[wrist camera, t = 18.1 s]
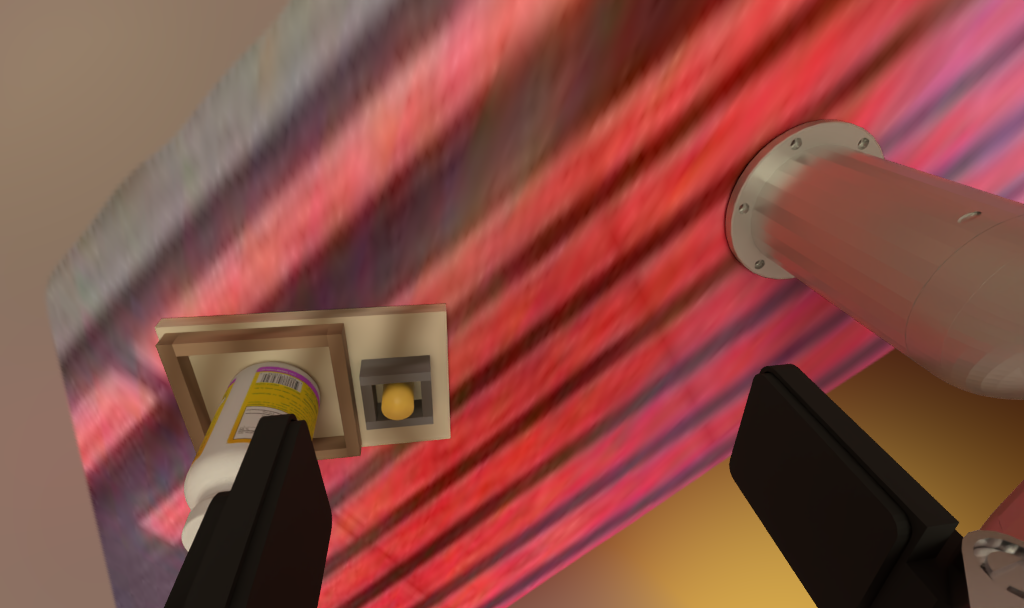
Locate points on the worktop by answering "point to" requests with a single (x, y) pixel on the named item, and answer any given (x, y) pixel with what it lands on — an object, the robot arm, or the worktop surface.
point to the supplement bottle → (244, 430)
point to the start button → (398, 400)
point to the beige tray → (319, 368)
